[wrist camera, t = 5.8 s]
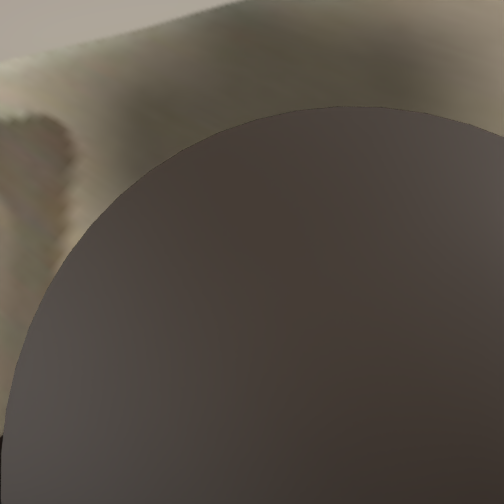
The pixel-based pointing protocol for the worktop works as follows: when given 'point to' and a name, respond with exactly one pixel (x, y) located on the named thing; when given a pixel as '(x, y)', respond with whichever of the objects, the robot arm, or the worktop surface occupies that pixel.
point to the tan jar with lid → (278, 325)
